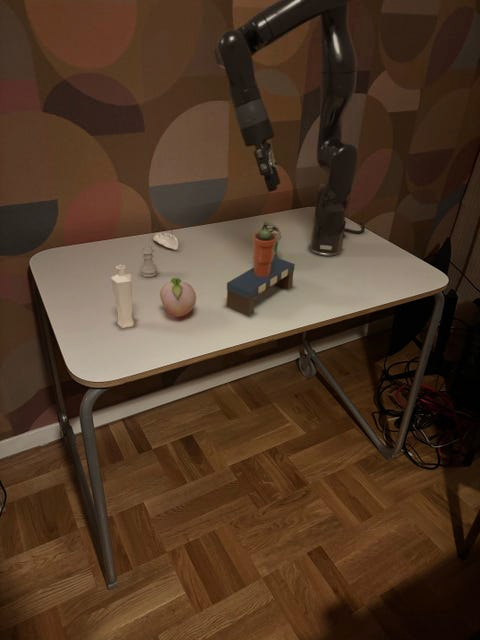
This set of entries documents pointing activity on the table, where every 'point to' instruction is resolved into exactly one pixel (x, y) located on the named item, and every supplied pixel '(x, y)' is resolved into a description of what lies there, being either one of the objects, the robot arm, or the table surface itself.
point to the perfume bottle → (123, 296)
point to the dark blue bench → (257, 285)
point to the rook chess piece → (148, 263)
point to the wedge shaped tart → (275, 231)
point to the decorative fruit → (177, 297)
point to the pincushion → (167, 240)
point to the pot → (263, 252)
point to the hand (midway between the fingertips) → (275, 187)
